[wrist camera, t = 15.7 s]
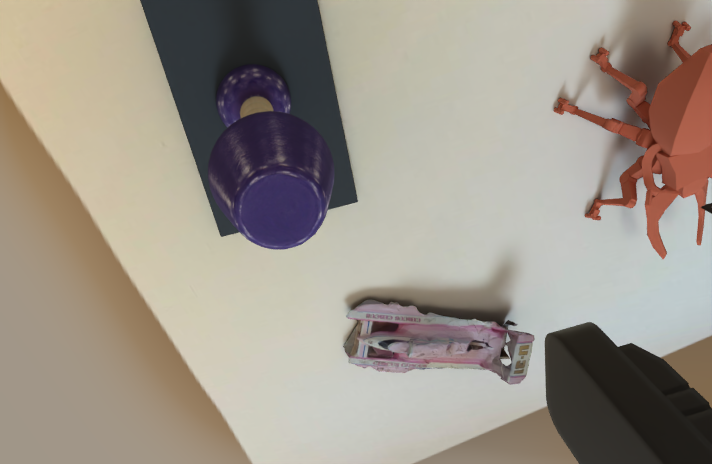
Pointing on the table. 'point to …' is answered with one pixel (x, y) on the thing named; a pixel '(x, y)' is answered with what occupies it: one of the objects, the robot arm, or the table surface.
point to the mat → (241, 47)
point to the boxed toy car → (433, 342)
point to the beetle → (665, 136)
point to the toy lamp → (268, 162)
